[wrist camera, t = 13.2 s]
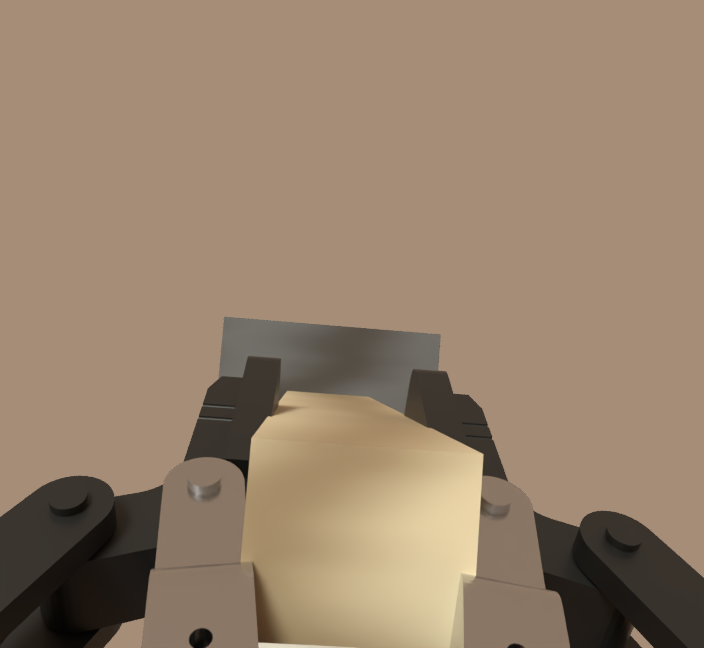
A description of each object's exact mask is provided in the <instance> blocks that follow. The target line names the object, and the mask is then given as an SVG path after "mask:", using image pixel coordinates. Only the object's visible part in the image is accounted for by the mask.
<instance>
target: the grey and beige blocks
mask: <svg viewBox="0 0 704 648" xmlns="http://www.w3.org/2000/svg"><path fill="white" fill-rule="evenodd" d="M439 348H440V335H438V334H427V333H415V332H402V331H389V330H378V329H366V328H354V327H341V326H329V325H317V324H305V323H292V322H281V321H268V320H255V319H244V318H232V317H225V318H224V327H223V339H222V348H221V359H220V370H219V378H220V377H222V376H228V377H241V378H243V374H244V370H245V366H246V362H247V358H248V356H258V357H271V358H281V372H280V389H279V405H278V408H277V409H276V411H275V412H274V414H273V415H272V417H270V416H268V417H267V418H266V419H265V421H264V422H263V423H262V425H261V426H260V427H259V429H258V430H257V431H256V433H255V434H254V435H253V437H252V438H251V447H250V459H249V470H248V482H247V493H246V504H245V516H244V527H243V538H242V550H241V561H240V562H246V561H252V564H253V574H254V588H255V603H256V617H257V632H258V643H277V644H298V645H319V646H340V647H361V648H450V642H451V635H452V629H453V622H454V615H455V609H456V602H457V595H458V589H459V582H460V575H461V573H464V574H469V575H475V576H476V567H477V551H478V535H479V519H480V503H481V486H482V470H483V454H482V453H480V452H478V451H476V450H474V449H472V448H470V447H468V446H466V445H464V444H462V443H460V442H458V441H456V440H454V439H452V438H450V437H448V436H446V435H444V434H442V433H440V432H438V431H436V430H434V429H432V428H427V427H425V426H423V425H421V424H419V423H418V422H416V421H414V420H412V419H410V418H408V417H406V416H404V413H405V407H406V401H407V395H408V389H409V384H410V378H411V374H412V371H413V369H421V370H434V371H438V363H439Z"/></svg>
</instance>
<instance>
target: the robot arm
mask: <svg viewBox="0 0 704 648" xmlns="http://www.w3.org/2000/svg"><path fill="white" fill-rule="evenodd" d="M280 372H281V358H271V357H258V356H248V358H247V362H246V366H245V370H244V374H243V378H241V377H228V376H222V377H220V378H219V379H218V380H217V381H216V382H215V383H214V384H212V385H211V386H210V387H209V388H208V390H207V393H206V396H205V399H204V402H203V406H202V408H201V411H200V414H199V419H198V420H197V423H196V426H195V429H194V432H193V435H192V438H191V441H190V445H189V447H188V450H187V453H186V456H185V459H184V462H183V463H181V464H179V465H177V466H176V467H174V468H173V469H172V470H171V471H170V472H169V473H168V474H167V476H166V478H165V480H164V484H163V485H161V486H159V487H156V488H154V489H151V490H148V491H144V492H140V493H134V494H128V495H122V496H116V497H114V493H113V491H112V489H111V487H110V486H109V485H108V484H107V483H105V482H104V481H102V480H100V479H97V478H94V477H88V476H71V477H65V478H61V479H58V480H55V481H52V482H50V483H48V484H46V485H44V486H42V487H40V488H39V489H37V490H36V491H35V492H34V493H32V494H31V495H29V496H28V497H27V498H25V499H24V500H23V501H21V502H20V503H19V504H17V505H16V506H15V507H14V508H12V509H11V510H9V511H8V512H7V513H5V514H4V515H3V516H1V517H0V648H104V647H105V645H106V644H107V643H108V642H109V641H110V640H111V638H112V637H113V636H114V635H115V634H116V633H117V631H118V630H119V628H120V626H121V624H122V623H125V622H129V621H133V620H137V619H141V618H145V619H144V629H143V638H142V647H141V648H259V647H258V632H257V617H256V603H255V588H254V574H253V564H252V561H246V562H240V561H241V550H242V538H243V527H244V516H245V504H246V493H247V482H248V470H249V459H250V447H251V438H252V437H253V435H254V434H255V433H256V431H257V430H258V429H259V427H260V426H261V425H262V423H263V422H264V421H265V419H266V418H267V417H268V416H270V417H272V415H273V414H274V412H275V411H276V409H277V408H278V405H279V389H280ZM404 416H406V417H408V418H410V419H412V420H414V421H416V422H418V423H419V424H421V425H423V426H425V427H427V428H432V429H434V430H436V431H438V432H440V433H442V434H444V435H446V436H448V437H450V438H452V439H454V440H456V441H458V442H460V443H462V444H464V445H466V446H468V447H470V448H472V449H474V450H476V451H478V452H480V453H482V454H483V470H482V486H481V503H480V519H479V535H478V551H477V567H476V576H475V575H469V574H464V573H461V575H460V582H459V589H458V595H457V602H456V609H455V615H454V622H453V629H452V635H451V642H450V648H642V647H640V646H639V644H638V643H637V642H636V641H635V640H634V639H633V638H632V637H631V636H630V634H631V632H632V630H633V628H634V627H635V628H636V629H637V630H638V631H639V632H640V633H641V634H642V635H643V637H644V638H645V639H646V640H647V641H648V642H649V643H650V644H651V645H652V646H653V647H654V648H704V578H703V577H702V576H701V575H700V574H699V573H697V572H696V571H695V570H694V569H693V568H692V567H691V566H690V565H688V564H687V563H686V562H685V561H684V560H683V559H682V558H681V557H680V556H678V555H677V554H676V553H675V552H674V551H673V550H672V549H671V548H669V547H668V546H667V545H666V544H665V543H664V542H663V541H662V540H660V539H659V538H658V537H657V536H656V535H655V534H654V533H653V532H651V531H650V530H649V529H648V528H647V527H645V526H644V525H642V524H641V523H639V522H638V521H636V520H634V519H632V518H630V517H628V516H626V515H623V514H619V513H616V512H611V511H596V512H592V513H590V514H588V515H586V516H585V517H584V518H583V520H582V521H581V524H580V527H576V526H573V525H570V524H566V523H563V522H559V521H556V520H553V519H550V518H547V517H545V516H542V515H540V514H538V513H536V512H534V511H533V507H532V504H531V502H530V500H529V498H528V497H527V496H526V494H525V493H524V492H523V491H522V490H521V489H519V488H518V487H516V486H515V485H513V484H512V483H510V482H508V480H507V477H506V475H505V472H504V469H503V466H502V464H501V460H500V458H499V455H498V452H497V450H496V447H495V444H494V441H493V440H492V435H491V433H490V430H489V428H488V427H487V425H488V424H487V421H486V419H485V416H484V413H483V410H482V408H481V407H479V406H478V405H477V403H476V402H475V401H474V400H473V399H472V398H471V397H470V396H469V395H462V394H461V395H460V394H453V391H452V388H451V384H450V381H449V378H448V374H447V372H445V371H434V370H421V369H413V371H412V374H411V378H410V384H409V389H408V395H407V401H406V407H405V413H404Z"/></svg>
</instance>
